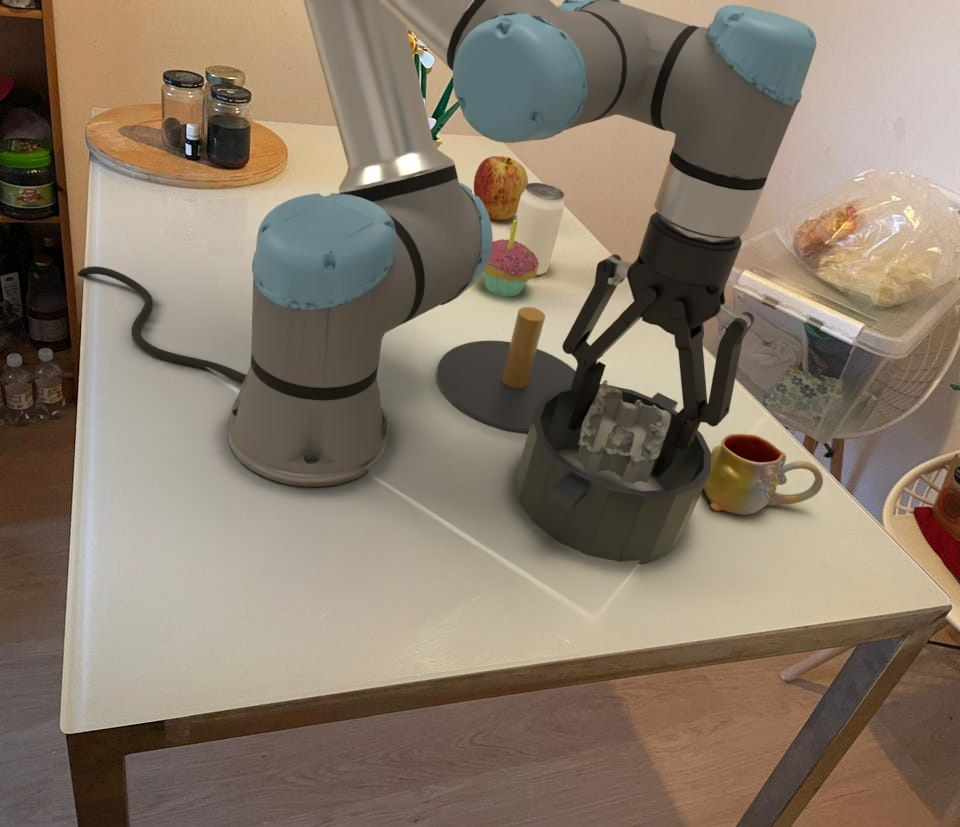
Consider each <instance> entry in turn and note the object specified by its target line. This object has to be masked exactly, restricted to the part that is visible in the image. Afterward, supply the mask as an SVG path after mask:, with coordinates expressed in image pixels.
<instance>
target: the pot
mask: <svg viewBox="0 0 960 827" xmlns="http://www.w3.org/2000/svg"><path fill="white" fill-rule="evenodd" d="M601 384H602V383H600V385H599V388H598V390H599V389H600V386H601ZM607 385H608V386H609V387H611V388H615V389H618V390H619V391H621V392H622V393H623V400H622V401H623V402H626V403H630V404H635V401H637V400H641V401H642V403H643V404H644V405H647V406H653V405H655V406H656V407H657V408H659V409H661V410H666V411H667V412H669V413H670V414H671V420H670V424H669V428H668V430H667V433H666V436H667V434H668V431H669V429H670V426H671V424H672V421H673V419H674V416H676V415H677V414H678V413H679V412H678V411H677V410H676V409H677V407H678V405H679V402H678V401H676V400H674V399H672V398H670V397H669V396H667V395H664V394H662V393H660V392H656V393H655V394H654V395H653V396H652V397H651V396H649V395H645V394H643V393H641V392H638V391H636V390H633V389H629V388H624V387H620V386H616V385H615V386H614V385H611V384H607ZM597 392H598V391H597ZM596 395H597V394H596ZM577 397H578V396H577V395H576V394H574V393H572V392H571V386H567V387H563V388H559V389H555V390H553V391H552V392H550V393H549V394H548V395H546V396H545V397H544V398H542V399H541V400H540V401H539V402H538V405H537V407H536V410H535V413H534V415H533V418H532V422H531V425H530V429H529V432H528V433H527V437H526V440H525V443H524V447H523V451H522V454H521V457H520V458H521V459H520V462H519V465H518V469H517V473H516V475H515V480H514V482H515V489H516V493H517V497H518V498H517V499H518V502H519V504H520V506H521V507H522V509H523V510H524V511H525V513H526V514H527V516H528V517H529V518H530V521H531V522H532V523H533V524H534V525H536V526H537V527H538V528H539V529H541V530H542V531H544V532H545V533H546V534H547V535H548V536H549V537H550V538H553V540H555V541H556V542H557V543H559V544H562V545H564V546H566V547H569V548H570V549H573V550H575V551H577V552H579V553H582V554H584V555H586V556H590V557H595V558H599V559H605V560H609V561H615V562H632V561H639V562H638V565H640V564H641V565H642V564H646V563H649V562H653V561H656V560H658V559H660V558H662V557H664V556H666V554H668V553H670V552H671V551H672V550H673V549H674V548H675V547H676V545H677V543H678V542H679V541H680V539H681V537H682V536H683V535H684V533H685V530H686V528H687V526H688V524H689V521H690V519H691V517H692V515H693V512H694V510H695V508H696V506H697V504H698V501H699V499H700V496H701V494H702V492H703V491H704V486H705V483H706V481H707V479H708V477H709V474H710V472H711V455H712V454H711V453H712V451H711V450H710V448H709V445H708V443H707V441H706V439H705V437H704V435H703V434H702V433H701V432H700V431H699V429H698V430H697V432H696V435H695V437H694V440H693V442H692V443H691V444H690V445H689V446H688V447H687V448H686V449H685V450H681V449H679V448H678V449H677V451H676V454H675V456H674V459H673V461H672V463H671V465H670V466H669V468H668V469H667V470H666V471H665V472H664V473H663V474H662V475H661V476H660V477H657V476H655V475H653V474H652V472H653V470H654V467H655V464H656V462H657V459H658V457H659V456H658V457H657V458H656V459H655V460H654V464H653V467H652V470H651V473H650V475H649V476H651V477H652V478H654V479H655V480H656V482H657V483H658V484H659V485H660V487H662V489H663V490H639V489H634V488H630V487H625V486H620V485H615V484H611V483H609V482H607V481H605V480H602V479H600V478H598V477H595V476H593V475H590V474H588V473H586V472H584V471H582V470H581V469H579V467H578V468H577V466H575V465H574V464H572V463H571V462H569V461H568V460H567V459H565V457H562V456H561V455H560V454H559V453H558V452H557V451H560V450H579V449H580V445H579V441H580V434H581V429H582V426H581V427H580V428H578V429H577V430H576V431H575V432H574V431H573V430H571V429H569V428H568V427H569V423H570V420H571V417H572V414H573V410H574V407H575V404H576V401H577ZM666 436H665V439H666ZM664 442H665V440H664ZM664 442H663V444H664ZM662 447H663V445H662ZM660 452H661V451H660Z"/></svg>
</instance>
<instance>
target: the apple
mask: <svg viewBox="0 0 960 827" xmlns="http://www.w3.org/2000/svg"><path fill="white" fill-rule="evenodd" d="M527 184H529V178H528V175H527V172H526V169H525V168H524V166H523V165H522V164H521V163H519V162H518V161H517V160H515V159H513V158H511V157H508V156H504V155H502V156H499V155H498V156H496V155H495V156H490V157H487V158H485V159H483V160H482V162H480V164H479V165H478V167H477V170H476V172H475V174H474V179H473V195H475V196H478V197H479V198H480V199H481V201H482V202H483V204H484V206H485V208H486V210H487V212H488V215H489V218H490V220H493V221H498V222H500V221H505V220H509V219H510V218H512V217H514V216H516V213H517V209H518V205H519V201H520V197H521V194H522V193H523V192H524V191H525V189H526V185H527Z"/></svg>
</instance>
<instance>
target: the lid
mask: <svg viewBox="0 0 960 827" xmlns="http://www.w3.org/2000/svg"><path fill="white" fill-rule="evenodd" d="M545 320H546V314H545V313H544V312H543V311H541V309H538V308H535V307H531V306H523V307H520V308H519V309H518V311H517V315H516V319H515V323H514V327H513V331H512V334H511V335H512V336H511V339H510V341H504V340H477V341H470V342H466V343H463V344H460V345H457V346H455V347H453V348H451V349H450V350H448V351H447V352H446V353H444V355H443V356H442V357H441V358H440V360H439V362H438V365H437V368H436V381H437V382H436V383H437V384H438V387H439V389H440V391H441V393H442V394H443V396H444V397H445V398H446V399H447V400H448V401H449V402H450V403H451V404H452V405H453V406H454V407H456V408H457V409H458V410H459V411H461V412H463V413H464V414H466V415H467V416H469V417H471V418H472V419H474V420H477V421H478V422H481V423H483V424H485V425H488V426H492V427H494V428H497V429H501V430H506V431H508V432H509V431H510V432H517V433H522V434H523V433H524V434H528V432H529V429H530V425H531V422H532V418H533V415H534V413H535V410H536V407H537V405H538V402H539V401H540V400H541V399H542V398H544V397H545V396H546V395H548V394H549V393H550V392H552V391H553V390H555V389H559V388H563V387H567V386H571V385H572V382H573V379H574V375H575V372H576V369H574V368H573V367H572V366H571V365H569V364H568V363H566V362H565V361H564V360H562V359H560V358H558V357H556V356H555V355H553V354H550V353H548V352H546V351H544V350H542V349H539V348H538V346H539V342H540V337H541V334H542V330H543V327H544V323H545Z"/></svg>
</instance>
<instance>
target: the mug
mask: <svg viewBox="0 0 960 827" xmlns="http://www.w3.org/2000/svg"><path fill="white" fill-rule="evenodd" d="M711 454H712V455H711V472H710V474H709V477H708V479H707V481H706V483H705V486H704V488H703V491H704V493H705V495H706V497H707V499H708V501H710V505H709V506H710V509H712V510H713V511H717V512H718V511H723V512H724V511H725V512H727V513H729V514H736V515H742V516H743V515H744V516H747V515H754V514H755V513H756V514H757V513H758V512H759V511H760V510H762V509H763V508H764V507H766V506H783V505H784V506H785V505H795V504H798V503H802V502H805V501H807V500H809V499H811V498H813V497H815V496H816V495H817V494H818V493H819V492H820V491H821V489H822V488H823V483H824V478H823V475H822V473H821V471H820V469H819V468H818V466H816V465H815V464H813V463H811V462H808V461H804V460H797V461H793V462H789V463H787V464H786V461H787V454H786V453H785V452H784V451H781V450H780V449H779V448H778V447H776V446H775V444H773V443H772V442H770V441H768V440H767V439H765V438H763V437H761V436H759V435H756V434H749V433H731V434H728V435H726V436H725V437H723V438H722V440H721V442H720V444H718V445H715V446H714V447H713V448H712V450H711ZM793 470H807V471H809V472H811V473H812V474H813V477H814V480H813V482H812V484H811V485H810V487H808V489H806V490H804V491H802V492H799V493H792V494H791V493H789V494H784V493H779V492H777V487H778V486H783V485H785V484H786V483H787V482H788V478H787V476H786V473H788V472H790V471H793Z"/></svg>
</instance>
